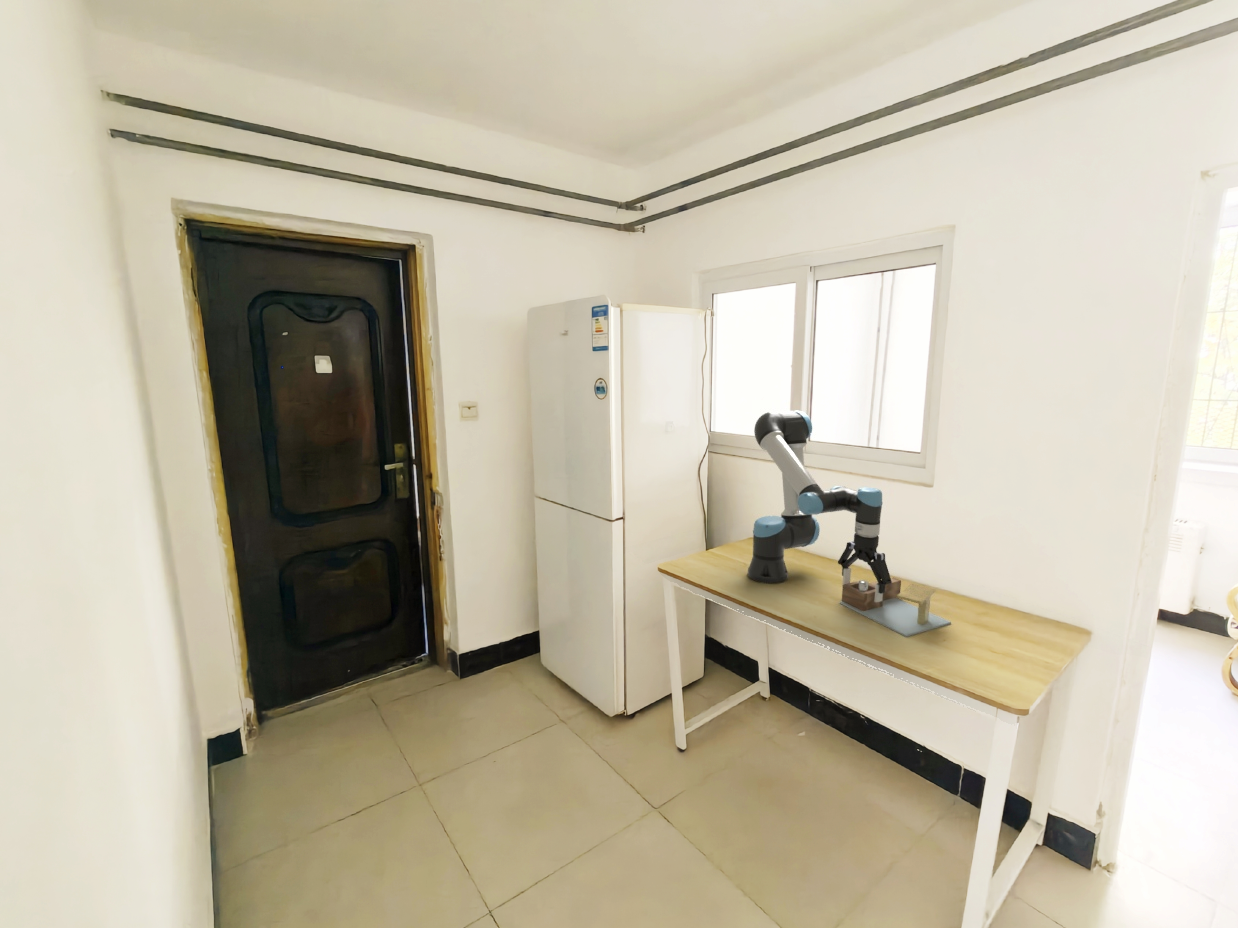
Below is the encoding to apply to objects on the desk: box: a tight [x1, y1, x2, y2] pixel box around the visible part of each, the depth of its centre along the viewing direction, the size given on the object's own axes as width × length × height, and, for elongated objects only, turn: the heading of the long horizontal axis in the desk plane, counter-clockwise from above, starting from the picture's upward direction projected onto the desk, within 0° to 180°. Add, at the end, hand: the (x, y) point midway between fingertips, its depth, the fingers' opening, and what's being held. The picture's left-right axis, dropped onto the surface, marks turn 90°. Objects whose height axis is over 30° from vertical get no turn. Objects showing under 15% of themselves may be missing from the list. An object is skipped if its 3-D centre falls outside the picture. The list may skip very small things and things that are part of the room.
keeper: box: [896, 583, 936, 625], centre depth 169 cm, size 7×13×10 cm, turn 133°
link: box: [841, 577, 902, 611], centre depth 184 cm, size 21×9×6 cm, turn 113°
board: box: [839, 597, 952, 638], centre depth 176 cm, size 26×20×1 cm
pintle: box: [858, 579, 869, 592], centre depth 181 cm, size 3×3×8 cm
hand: (861, 593), depth 182 cm, fingers open, 13 cm apart
